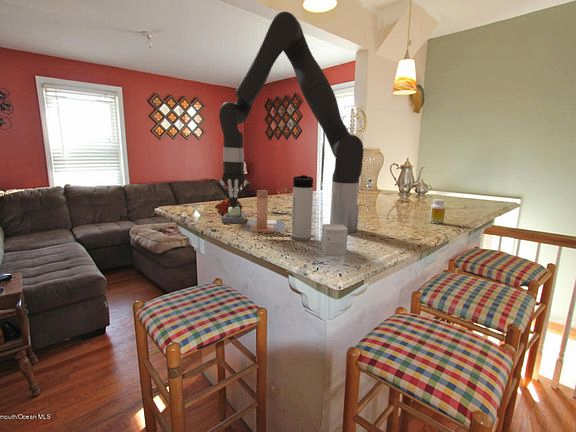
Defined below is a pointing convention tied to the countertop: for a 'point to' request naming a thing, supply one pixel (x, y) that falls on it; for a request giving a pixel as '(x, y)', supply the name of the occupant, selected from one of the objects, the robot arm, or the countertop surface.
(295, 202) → the travel mug
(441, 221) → the supplement bottle
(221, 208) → the dragon fruit
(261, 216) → the tan tall block
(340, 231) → the product box
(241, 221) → the button housing
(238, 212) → the button
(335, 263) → the countertop surface
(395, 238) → the countertop surface
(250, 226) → the board
